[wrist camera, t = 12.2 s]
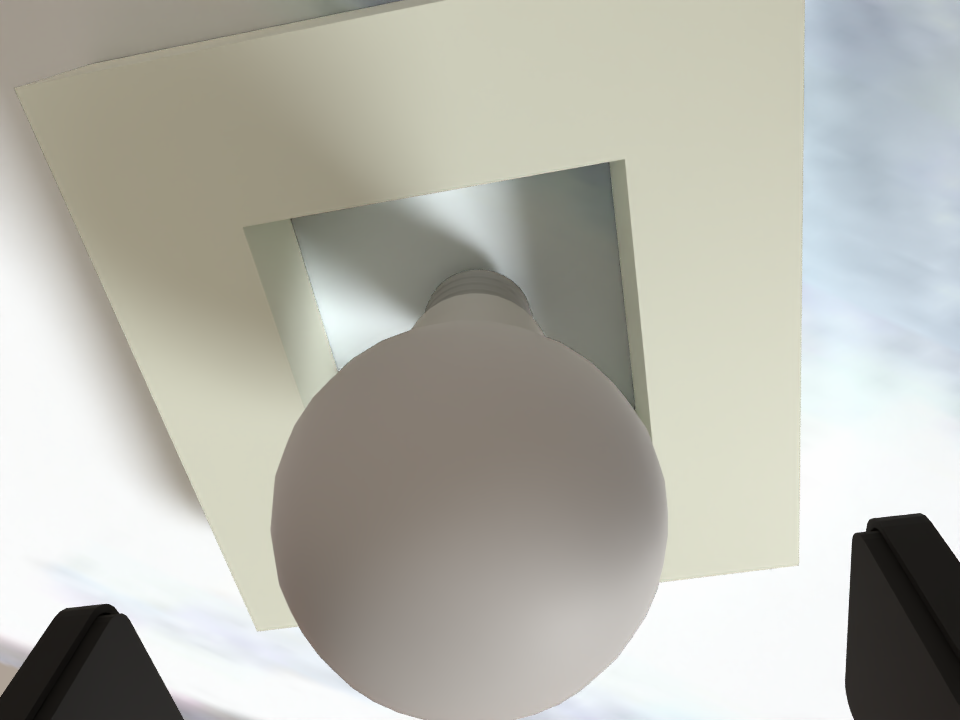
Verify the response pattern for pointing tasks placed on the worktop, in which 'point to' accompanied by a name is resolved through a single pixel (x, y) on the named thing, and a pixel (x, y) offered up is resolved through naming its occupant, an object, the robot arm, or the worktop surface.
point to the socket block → (442, 167)
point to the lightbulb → (469, 514)
